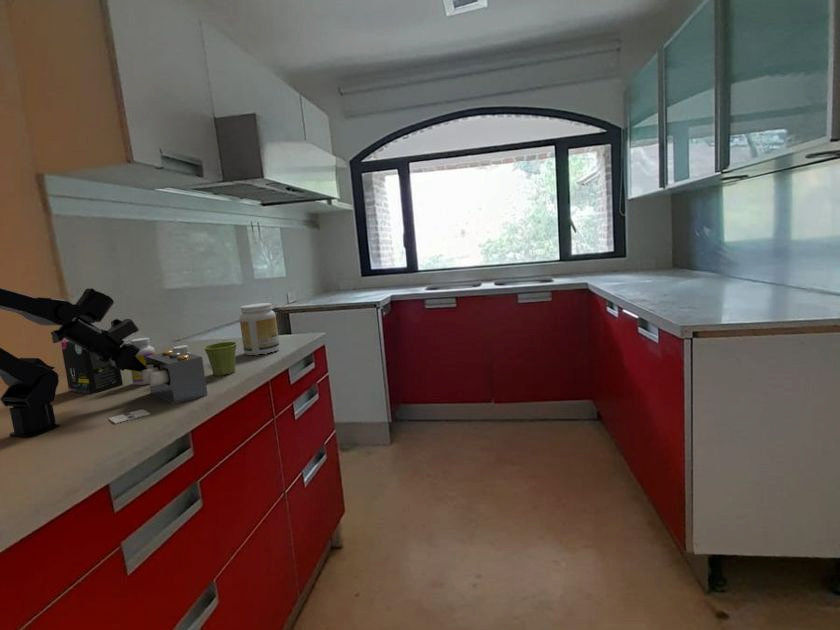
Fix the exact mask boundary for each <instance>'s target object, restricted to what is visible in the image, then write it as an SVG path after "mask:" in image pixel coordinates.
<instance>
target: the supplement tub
mask: <svg viewBox="0 0 840 630" xmlns="http://www.w3.org/2000/svg"><path fill="white" fill-rule="evenodd" d="M272 309H273V305H272V302H262V303H252V304H245V305H242V306H240V312H241V314H240V316H239V323H240V325H239V326H240V330H241V340H242V346H243V352H244V354H245V355H247V356H251V355H255V356H258V355H257V354H265V353H269V352H273V351H276V350H277V351H279V349H280V346H281V345H280V338H279V332H278V323H277V315H276V312H275V311H273V310H272ZM277 351H276V352H277ZM273 353H274V352H273ZM265 355H266V354H265Z"/></svg>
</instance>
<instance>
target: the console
mask: <svg viewBox="0 0 840 630" xmlns="http://www.w3.org/2000/svg"><path fill="white" fill-rule="evenodd" d="M190 353H191V352H189V353H186V352H183V351H179V350H174V351H173V350H165V351H162V352H160V353H155V354H154V355H149V356H145V357H146V363H147V365H151V364H153V368H156V367H158V368H159V366H160V369H161V371H163V370H166V371H167V373H168V376H169V382H168V383H165V384H161V385H156V386H151V385H150V384H149V386H150V387H149V388H150V393H151V394H153V395H155V396H158V397H159V398H162V399H163V400H165V401H167V402H170V403H172V404H174V405H175V404H179V403H183V402H187V401H191V400H194V398H195V399H198V398H201V396H202V397H205V395H206V396H208V389H207V383H206V374H205V368H204V367H205V366H204V361H203V357H202V355H201V356H200V355H196V354H193V353H191V354H190ZM160 369H159V370H160ZM197 397H198V398H197ZM190 399H191V400H190Z"/></svg>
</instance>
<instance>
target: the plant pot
mask: <svg viewBox="0 0 840 630" xmlns="http://www.w3.org/2000/svg"><path fill="white" fill-rule="evenodd" d="M237 345H238V342H236V341H223V342H217V343H212V344H208V345H205V346H204V347H202V348H203V350H204V352H205V354H206V355H207V359H208V361H209V364H210V366H211V367H210V368H211V371H212V374H213V375H214V376H216V377H217V376H218V377H221V375H223V376H225V375H231V373H232V374H233V372H234V373H236V350H237Z"/></svg>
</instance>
